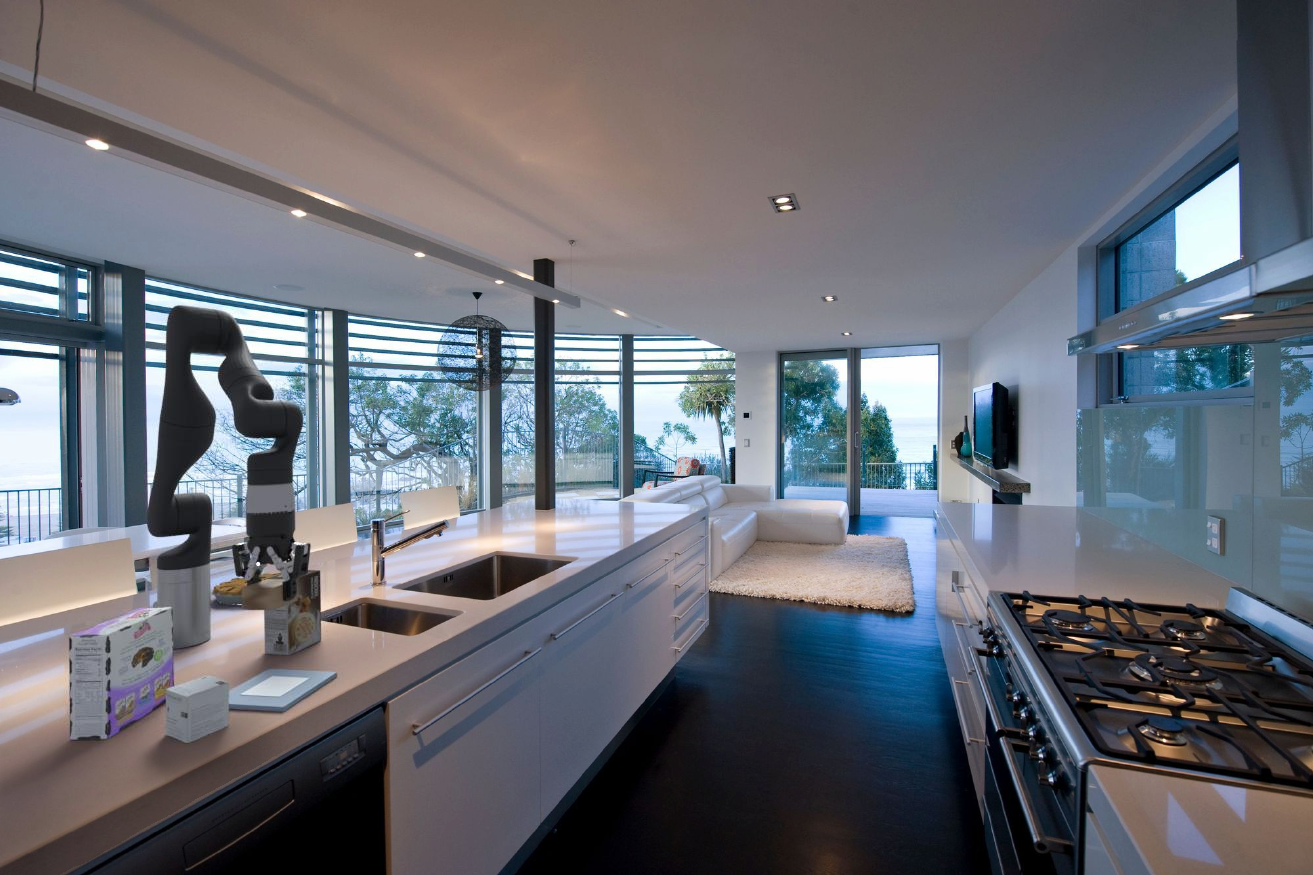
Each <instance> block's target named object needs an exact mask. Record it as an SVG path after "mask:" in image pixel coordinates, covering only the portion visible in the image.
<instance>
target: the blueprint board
mask: <svg viewBox="0 0 1313 875" xmlns="http://www.w3.org/2000/svg"><path fill="white" fill-rule="evenodd" d="M337 677H338V672H337V671H319V670H304V669H303V670H301V669H300V670H299V669H281V668H279V669H278V668H277V669H276V668H269V669H267V670H265V671H263V672H261V673H259V674H257V675H256V676H254V677H252V678H250V679H248V680H246V681H245V682H243V683H241V684H239V685H237V686H235V687H234V688H232V689H229V710H230V709H232V710H244V711H245V710H247V711H248V710H250V711H251V710H252V711H267V712H269V711H270V712H285V711H287V710H288V709H290V708H292V707H293V706H294V705H296V704H297V703H299V702H301V701H302V700H304V699H305V698H306V697H308V696H309V695H311V694H313V693H314V692H315V691H317V690H319V689H320V688H322V687H323V686H325V685H326V684H328V683H329V682H331V681H332V680H334V679H335V678H337Z"/></svg>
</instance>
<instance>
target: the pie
mask: <svg viewBox="0 0 1313 875" xmlns="http://www.w3.org/2000/svg"><path fill="white" fill-rule="evenodd" d="M280 574H281V572H278V573H269V572H268V573H267V572H266V573H262V574H261V576H260V577H259V578H262V581H263V579H266V578H270V577H273V576H276V575H280ZM245 586H247V580H246V579H245V578H244V577H236V578H235V577H234V578H232V579H231V580H229V581H223V582H220V583H219V584H218V585H217V584H216V585H215V586H213V590H212V592H211V595H213V596H214V597H215V598H216V600H217V602H218V601H219V602H221V603H220V604H222V603H224V604H235V605H234V606H238V605H237V604H242V587H245ZM219 602H218V603H219ZM224 604H223V605H224Z"/></svg>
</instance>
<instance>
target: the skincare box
mask: <svg viewBox="0 0 1313 875" xmlns="http://www.w3.org/2000/svg"><path fill="white" fill-rule="evenodd" d="M229 691H230V682H229V681H227V680H223V679H221V678H220V677H214V676H210V675H209V674H208V675H204V676H202V677H201V676H200V677H198V678H195V679H192V680H189V681H186V682H183V683H180V684H178V685H174V687H171V688H168V689H166V702H165V735H166V736H168V737H172V738H173V739H176V740H178V741H180V742H183V743H185V744H189V743H192V742H194V741H197V740H199V739H202V738H204V737H207V736H209V735H212V734H214V733H215V732H218V731H220V730H222V729H224V727H225V728H227V727H229V725H230V724H229V716H230V715H229V712H230V709H229ZM208 734H209V735H208Z"/></svg>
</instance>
